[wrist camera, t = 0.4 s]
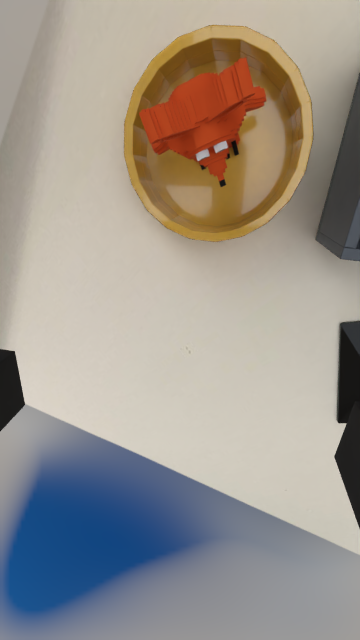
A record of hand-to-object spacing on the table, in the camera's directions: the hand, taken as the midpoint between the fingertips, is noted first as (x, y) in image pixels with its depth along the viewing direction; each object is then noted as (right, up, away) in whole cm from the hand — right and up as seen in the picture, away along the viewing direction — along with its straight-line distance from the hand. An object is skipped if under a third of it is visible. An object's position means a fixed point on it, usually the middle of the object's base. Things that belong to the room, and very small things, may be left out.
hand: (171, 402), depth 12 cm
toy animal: (+3, +17, +14) cm, 23 cm away
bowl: (+3, +18, +14) cm, 23 cm away
